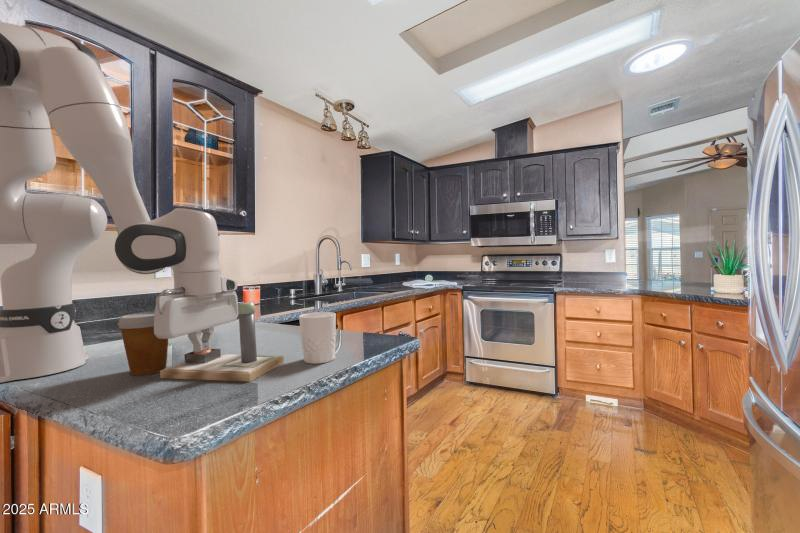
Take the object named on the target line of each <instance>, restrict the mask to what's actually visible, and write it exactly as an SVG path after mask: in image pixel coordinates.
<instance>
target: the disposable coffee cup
mask: <svg viewBox="0 0 800 533" xmlns="http://www.w3.org/2000/svg"><path fill="white" fill-rule="evenodd" d="M154 315H155V311H145V312H137V313H130V314H125V315H122V316H119V319H118V320H119V321H118V323H117V326H118V328H119V329H120V332H121V337H122V340H123V341H122V343H123V346H124V351H125V355H126V359H127V363H128V364H127V365H128V367H129V373H130V375H131V376H147V375H152V374H157V373H160V370H163V369H165V368H167V361H168V349H169V339H159V338H157V337H156V335H155V334H154Z"/></svg>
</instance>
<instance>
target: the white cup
mask: <svg viewBox="0 0 800 533" xmlns="http://www.w3.org/2000/svg"><path fill="white" fill-rule="evenodd" d="M298 320H299V329H300V339H301V347H302V350H303V362H305V363H307V364H314V365H315V364H316V365H318V364H320V365H321V364H325V363H329V362H332V361H334V360H335V359H336V345H337V344H336V342H337V341H336V340H337V327H336V325H337V324H336V323H337V313H336V312H332V311H316V312H315V311H314V312H307V313H303V314H300V315H298Z"/></svg>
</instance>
